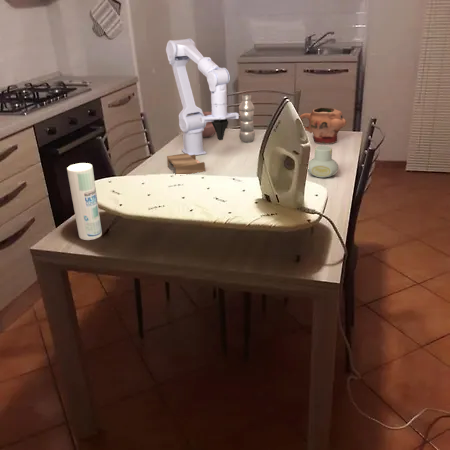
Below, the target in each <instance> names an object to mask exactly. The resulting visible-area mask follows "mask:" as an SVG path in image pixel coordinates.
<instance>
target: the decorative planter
mask: <svg viewBox="0 0 450 450" xmlns="http://www.w3.org/2000/svg"><path fill="white" fill-rule="evenodd" d="M299 117H301V119H302V120H304V119H308V121H309V122H308V126H305V129H306V130H305V129H304V130H305V131H307V132H309V133H310V134H313V137H312V138H313V141H314V143H316V144H325V145H327V144H329V145H330V144H334V143H337V141H338V133H339V131H340V130H342V129H343V128H344V127H345V126H346V125H347V120H346V119H345V118H344V116H343V112H342V111H341V110H338V109H336V108H332V107H331V108H330V107H317V108H313V109H312V110H311V112H310V113H309V112H305V113H302V114H300V115H299Z"/></svg>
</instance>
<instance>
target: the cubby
mask: <svg viewBox="0 0 450 450" xmlns="http://www.w3.org/2000/svg"><path fill="white" fill-rule="evenodd" d="M196 156H197V155H189V154H188V153H180V154H173V155H167V156H166V160H167V161H166V162H167V168H168V169H169V170H170V171H172V173H173V174H174V173H175V174H174V175H176V174H186V175H191V174H192V173H193V174H198V173H197V172H199V173H204V172H203V171H205V172H206V163H205V162H204V161H203V162H200V163H197V161H196V160H197V157H196ZM173 165H174V166H175V167H173Z"/></svg>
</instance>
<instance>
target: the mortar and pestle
mask: <svg viewBox="0 0 450 450" xmlns="http://www.w3.org/2000/svg"><path fill="white" fill-rule="evenodd" d="M202 112H203V114H204V116H208V115H212V111H202ZM215 134H216V131H215V128H214V126H213V124H212V123H211V122H206V127H205V128H204V131H202V137H204V138H208V137H211V136H214V135H215Z"/></svg>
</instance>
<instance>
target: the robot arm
mask: <svg viewBox="0 0 450 450" xmlns="http://www.w3.org/2000/svg"><path fill="white" fill-rule="evenodd" d="M165 52H166V55H167V60H168V64H169V66H170V65H171V69H172V72H173V76H174V81H175V84H176V88H177V91H178V96H179V98H180V101H181V107H182V110H180V112H179V114H178V125H179V128H180V130H181V131H182V145H183V146H182V147H183V148H181V149H180V150H181V151H182V152H183V154H185V153H188V154H189V155H196V156H198V155H199V156H200V155H206V154H207V153H208V152H207V151H205V150H204V144H203V143H204V142H203V141H204V140H203V136H202V131H204V128H205V127H206V122H211V123H212V124H213V126H214V128H215V131H216V133H215V134H216V136H217V137H216V138H217V140H219V141H223V140H224V136H225V131H226V129H227V127H228V126H229V120H238V119H239V118H240V113H238V112H228V97H227V95H228V93H227V92H228V90H227V85H228V84H229V82H230V80H231V79H230V78H231V77H230V73H229V70H228V69H227V68H226V67H219V65H218V64H216V63H215V62H214V61H213V60H212V58H211V57H208V56H204V55H203V54H202V53H201V52H200V51H199V50H198V48H197V47H196V42H195V41H194V40H193V39H192V38H189V37H188V38H186V39H185V38H184V39H175V40H173V39H169V40H168V41H167V43H166V47H165ZM190 61H192V62H193V63H195V64H197V69H198V71H199V72H200V73H201V74H203V76H204V77H205V78H206V80H207V84H208V87H209V88H208V89H209V91H210V103H211V112H212V115H208V116H204V114H203V112H204V111H203V109H202V108H201V107H198V106H197V105H196V102H195V97H194V94H193V90H192V86H191V83H190V79H189V76H188V75H189V74H188V71H187V68H186V66H187V64H188V63H189V62H190Z"/></svg>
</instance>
